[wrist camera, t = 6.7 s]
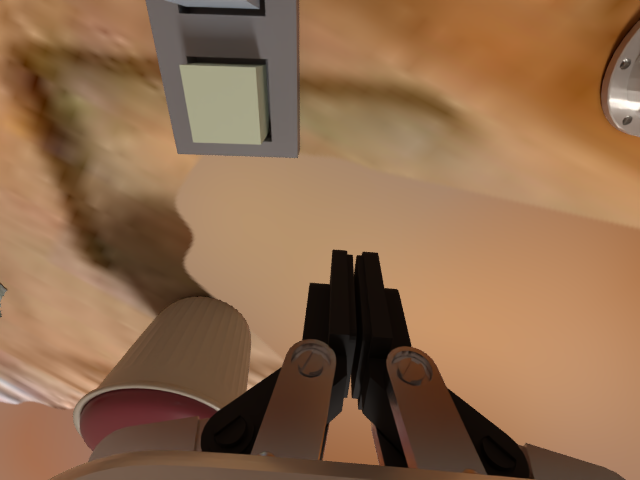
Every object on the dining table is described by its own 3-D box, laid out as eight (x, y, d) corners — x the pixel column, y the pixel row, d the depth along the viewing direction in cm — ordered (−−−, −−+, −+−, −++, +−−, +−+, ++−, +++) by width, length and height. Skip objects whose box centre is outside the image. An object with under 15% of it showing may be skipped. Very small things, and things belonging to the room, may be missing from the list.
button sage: (266, 64, 29) (255, 67, 25) (269, 131, 32) (260, 144, 28) (200, 62, 29) (179, 64, 25) (210, 129, 32) (193, 142, 28)
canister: (222, 258, 42) (144, 417, 24) (289, 342, 50) (269, 506, 32) (122, 302, 46) (-8, 464, 28) (198, 372, 54) (136, 532, 37)
